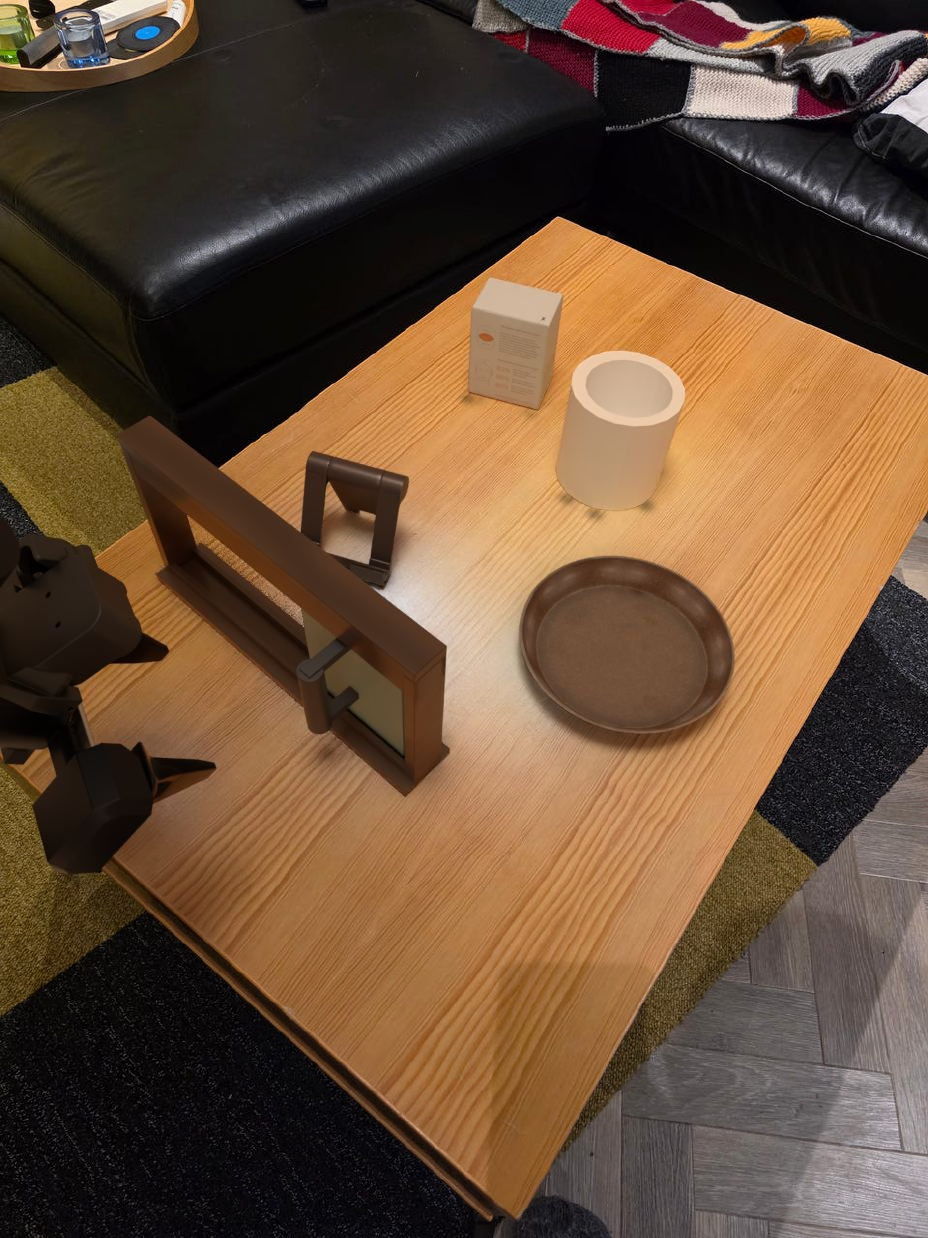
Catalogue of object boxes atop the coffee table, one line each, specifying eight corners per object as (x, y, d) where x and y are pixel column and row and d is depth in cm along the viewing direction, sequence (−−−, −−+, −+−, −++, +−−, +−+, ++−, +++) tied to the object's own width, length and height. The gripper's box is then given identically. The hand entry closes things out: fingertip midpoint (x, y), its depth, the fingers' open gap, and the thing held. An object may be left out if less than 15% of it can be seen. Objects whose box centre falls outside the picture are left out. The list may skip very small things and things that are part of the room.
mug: (578, 405, 92) (595, 319, 84) (673, 430, 91) (701, 345, 82) (543, 493, 85) (558, 408, 76) (646, 522, 83) (673, 438, 75)
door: (361, 796, 65) (352, 716, 55) (271, 714, 68) (247, 626, 58) (414, 746, 67) (414, 661, 57) (324, 670, 71) (309, 578, 61)
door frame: (405, 797, 66) (402, 685, 53) (157, 579, 77) (104, 441, 63) (449, 753, 68) (458, 636, 55) (203, 547, 79) (160, 408, 66)
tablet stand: (290, 563, 78) (278, 499, 72) (325, 502, 83) (317, 436, 76) (383, 590, 77) (380, 527, 70) (413, 527, 82) (413, 462, 75)
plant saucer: (616, 544, 81) (623, 522, 79) (767, 670, 74) (779, 650, 72) (472, 643, 74) (474, 622, 72) (624, 794, 67) (632, 776, 64)
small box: (552, 379, 95) (566, 293, 86) (538, 411, 92) (550, 326, 83) (482, 360, 96) (488, 274, 87) (465, 392, 93) (470, 306, 84)
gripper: (44, 736, 34) (325, 752, 47) (-44, 437, 44) (211, 516, 56) (-82, 893, 38) (209, 869, 51) (-138, 588, 48) (120, 631, 60)
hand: (187, 709), depth 54 cm, fingers open, 9 cm apart
